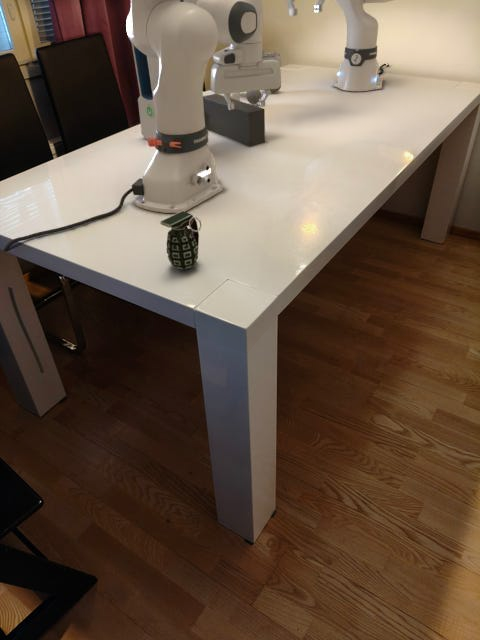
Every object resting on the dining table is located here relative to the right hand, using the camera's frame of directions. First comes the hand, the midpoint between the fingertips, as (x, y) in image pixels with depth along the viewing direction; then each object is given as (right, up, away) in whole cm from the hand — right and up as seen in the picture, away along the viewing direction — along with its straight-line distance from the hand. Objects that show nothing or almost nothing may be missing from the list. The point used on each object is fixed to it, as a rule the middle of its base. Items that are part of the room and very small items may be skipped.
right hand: (306, 14), depth 142 cm
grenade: (-29, -79, -50) cm, 98 cm away
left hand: (-17, -28, -1) cm, 33 cm away
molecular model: (-12, -3, +46) cm, 48 cm away
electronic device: (-43, -32, +11) cm, 55 cm away
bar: (-21, -31, +11) cm, 39 cm away
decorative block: (-31, -18, +29) cm, 46 cm away
